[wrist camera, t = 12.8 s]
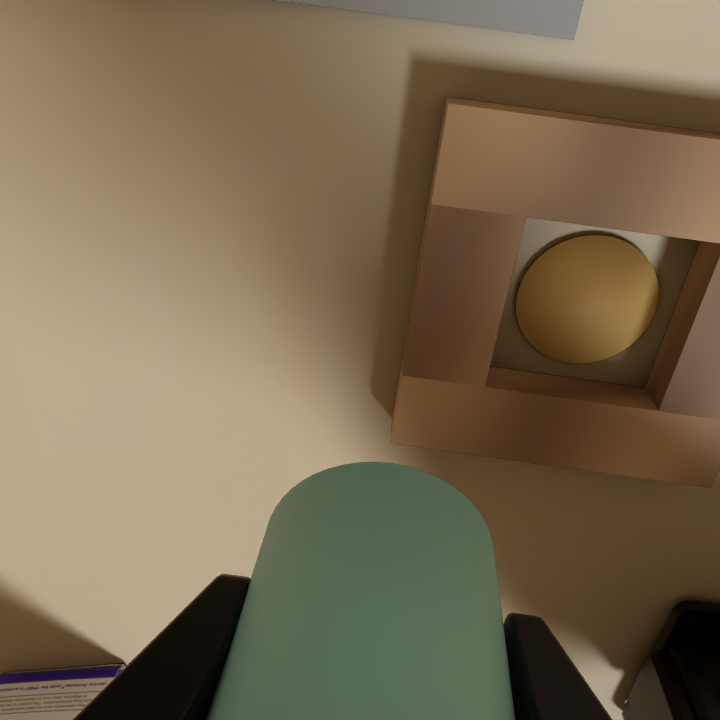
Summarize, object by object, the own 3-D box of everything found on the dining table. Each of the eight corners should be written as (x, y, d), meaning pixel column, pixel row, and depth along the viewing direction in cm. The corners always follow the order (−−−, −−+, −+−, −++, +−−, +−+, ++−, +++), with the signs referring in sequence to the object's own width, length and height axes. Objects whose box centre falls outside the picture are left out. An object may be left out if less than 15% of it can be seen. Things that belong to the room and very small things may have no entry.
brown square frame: (835, 148, 15) (866, 159, 14) (695, 461, 19) (711, 488, 18) (446, 96, 15) (448, 103, 14) (392, 419, 20) (390, 443, 18)
